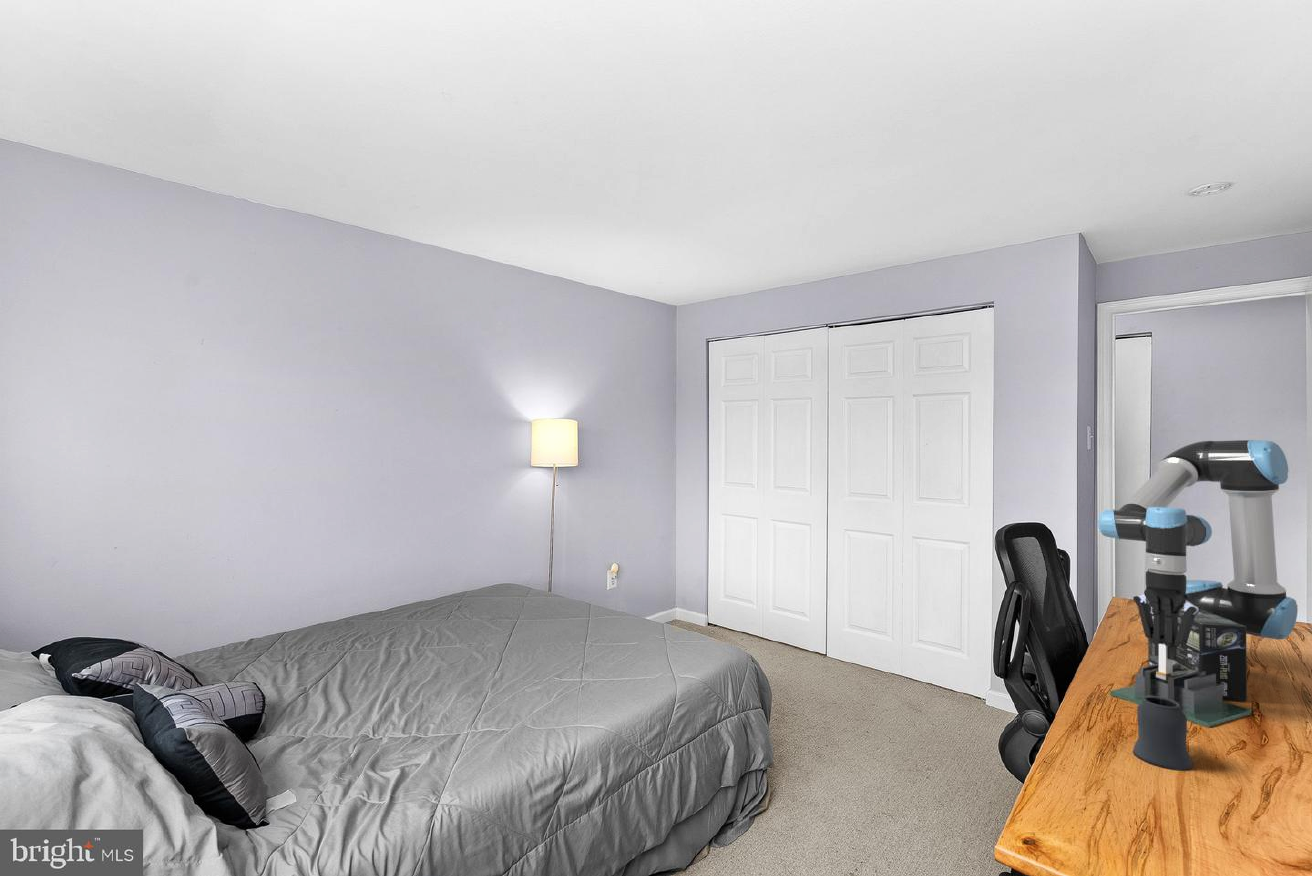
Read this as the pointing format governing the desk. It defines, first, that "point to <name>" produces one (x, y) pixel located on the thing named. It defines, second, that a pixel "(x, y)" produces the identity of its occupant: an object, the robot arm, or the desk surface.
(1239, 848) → the desk surface
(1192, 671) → the strap
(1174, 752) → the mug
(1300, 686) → the desk surface
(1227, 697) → the box
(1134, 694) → the heatsink
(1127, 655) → the desk surface
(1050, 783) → the desk surface
